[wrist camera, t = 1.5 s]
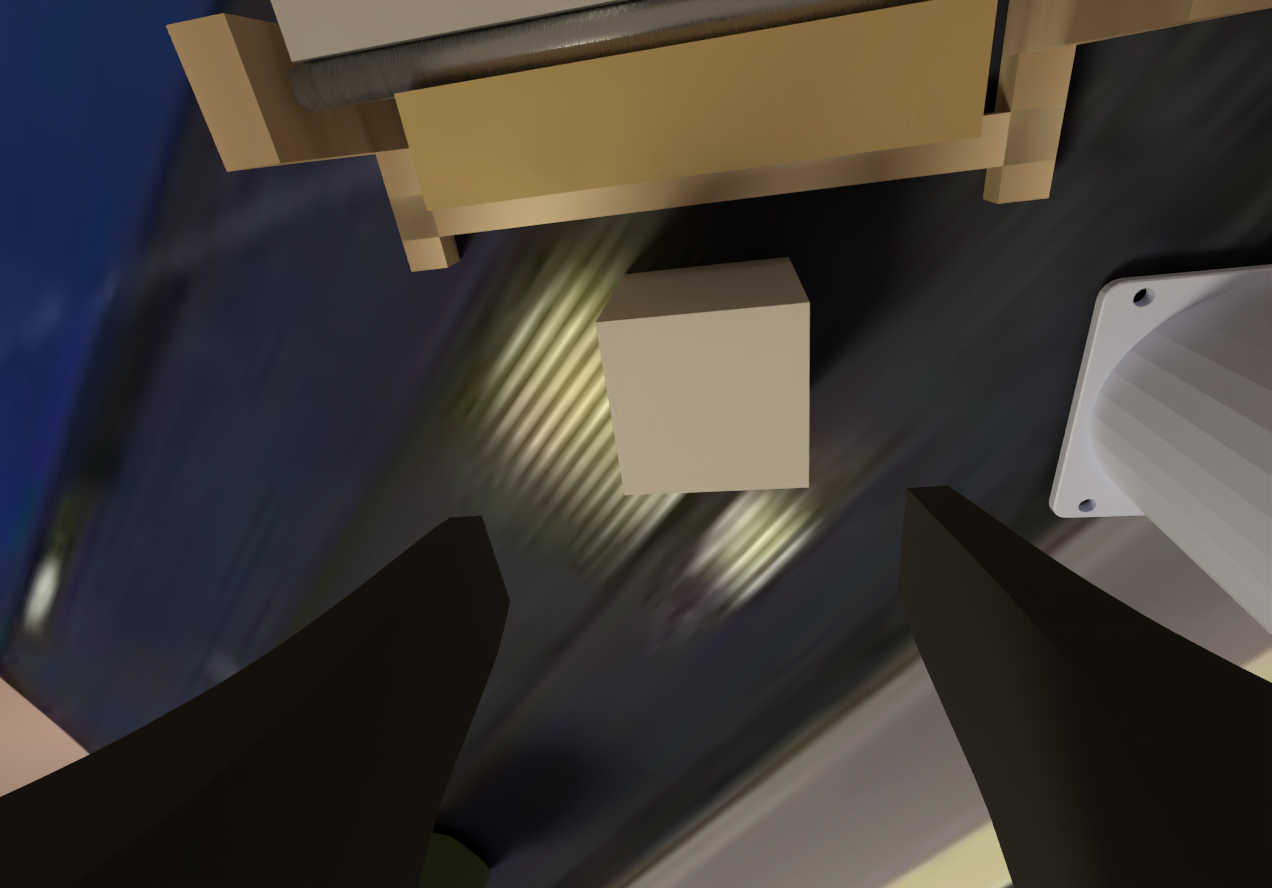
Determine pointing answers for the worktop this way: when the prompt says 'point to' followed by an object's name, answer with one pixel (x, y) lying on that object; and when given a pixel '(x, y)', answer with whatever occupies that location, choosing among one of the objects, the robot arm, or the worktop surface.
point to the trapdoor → (640, 83)
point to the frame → (1008, 147)
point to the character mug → (452, 865)
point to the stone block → (709, 377)
